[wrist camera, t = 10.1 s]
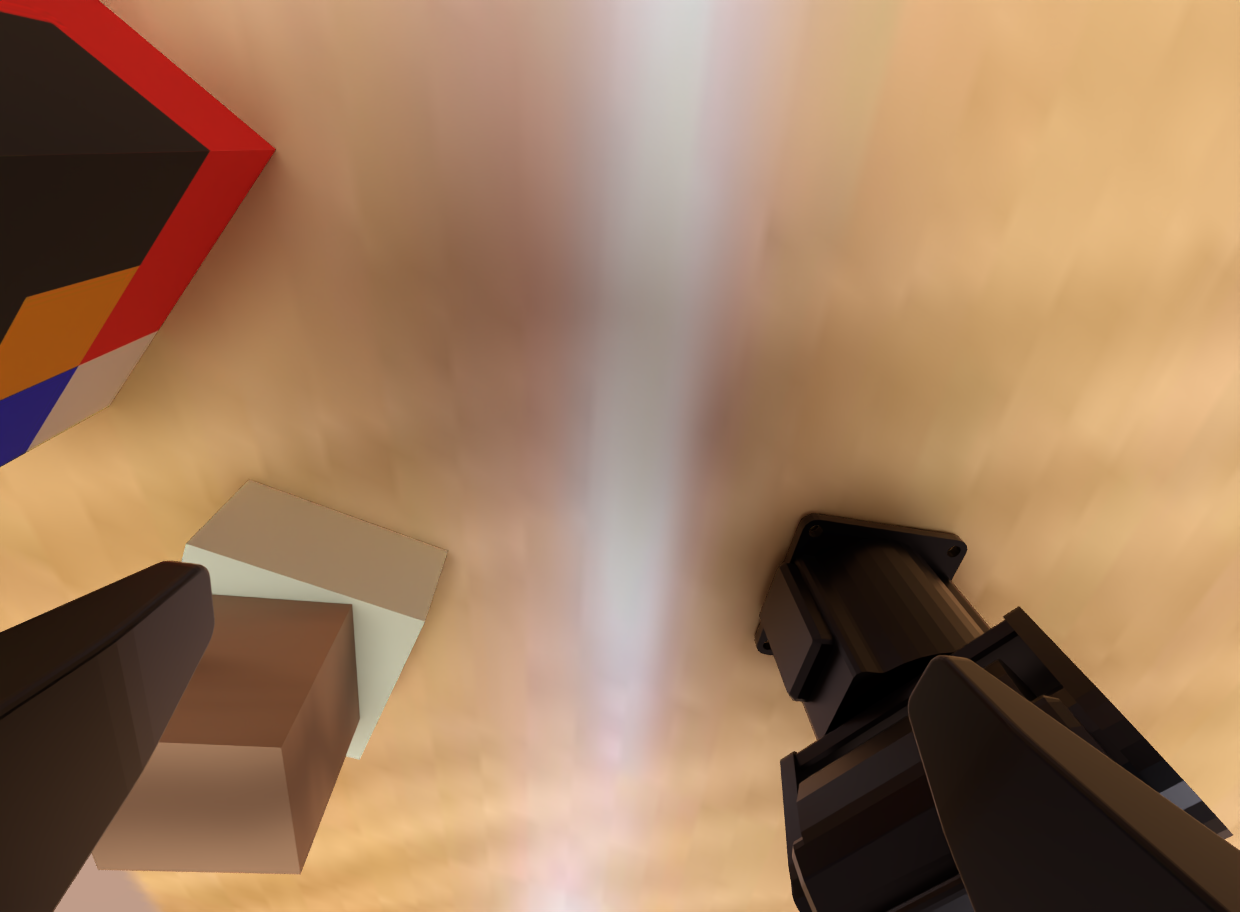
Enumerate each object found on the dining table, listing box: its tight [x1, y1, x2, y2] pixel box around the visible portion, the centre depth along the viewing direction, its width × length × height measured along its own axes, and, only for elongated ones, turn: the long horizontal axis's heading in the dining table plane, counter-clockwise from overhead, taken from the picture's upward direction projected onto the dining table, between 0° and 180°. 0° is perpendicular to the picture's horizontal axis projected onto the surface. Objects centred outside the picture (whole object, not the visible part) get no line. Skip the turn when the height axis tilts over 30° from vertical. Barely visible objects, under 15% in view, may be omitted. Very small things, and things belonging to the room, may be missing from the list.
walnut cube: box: [92, 595, 360, 874], centre depth 17 cm, size 5×5×5 cm
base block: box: [182, 480, 448, 760], centre depth 22 cm, size 7×7×4 cm
